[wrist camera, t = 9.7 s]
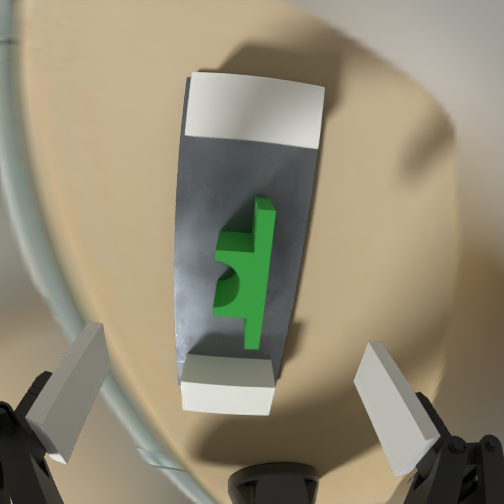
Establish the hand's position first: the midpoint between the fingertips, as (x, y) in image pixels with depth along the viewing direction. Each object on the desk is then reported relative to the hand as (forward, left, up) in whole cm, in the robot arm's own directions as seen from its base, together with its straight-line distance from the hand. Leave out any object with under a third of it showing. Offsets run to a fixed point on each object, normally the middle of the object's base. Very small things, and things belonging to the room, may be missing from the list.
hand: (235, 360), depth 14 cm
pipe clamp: (+1, 0, -11) cm, 11 cm away
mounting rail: (0, 0, -12) cm, 12 cm away
